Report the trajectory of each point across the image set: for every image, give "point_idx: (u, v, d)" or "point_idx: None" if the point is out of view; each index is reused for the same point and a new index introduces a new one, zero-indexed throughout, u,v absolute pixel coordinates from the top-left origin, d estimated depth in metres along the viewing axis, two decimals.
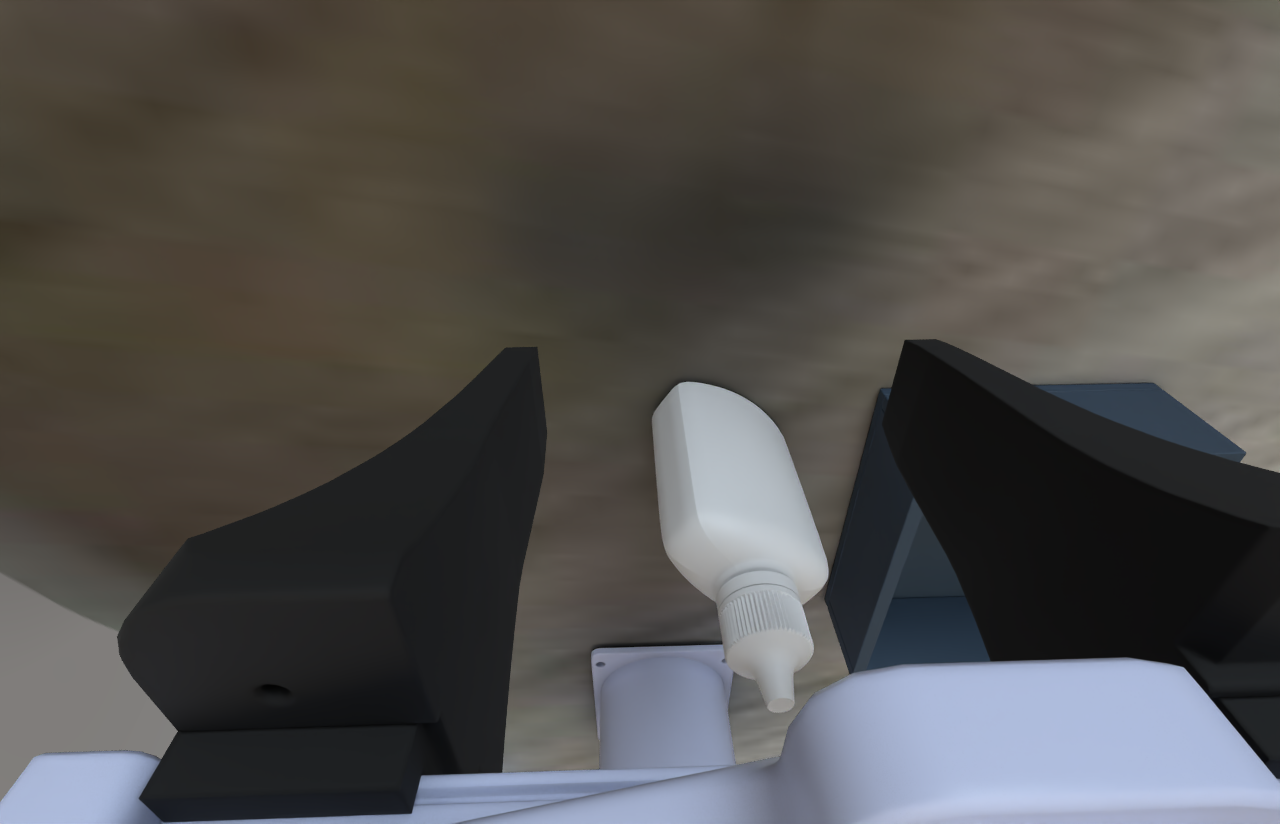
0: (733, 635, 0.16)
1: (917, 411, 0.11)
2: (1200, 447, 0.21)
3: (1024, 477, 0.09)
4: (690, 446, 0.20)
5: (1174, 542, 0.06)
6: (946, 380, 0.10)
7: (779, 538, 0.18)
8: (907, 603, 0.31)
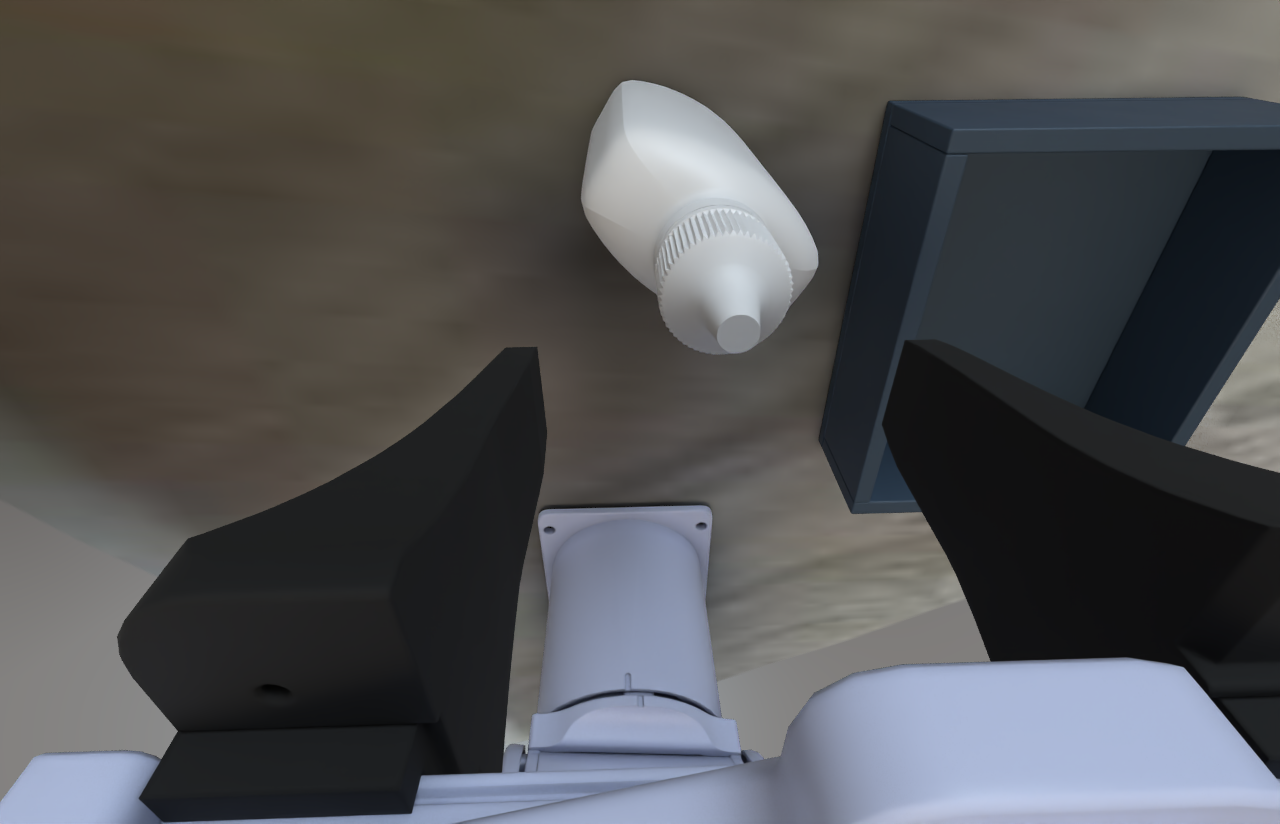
0: None
1: (917, 411, 0.11)
2: None
3: (1024, 477, 0.09)
4: (627, 101, 0.15)
5: (1174, 542, 0.06)
6: (946, 380, 0.10)
7: (745, 171, 0.12)
8: None
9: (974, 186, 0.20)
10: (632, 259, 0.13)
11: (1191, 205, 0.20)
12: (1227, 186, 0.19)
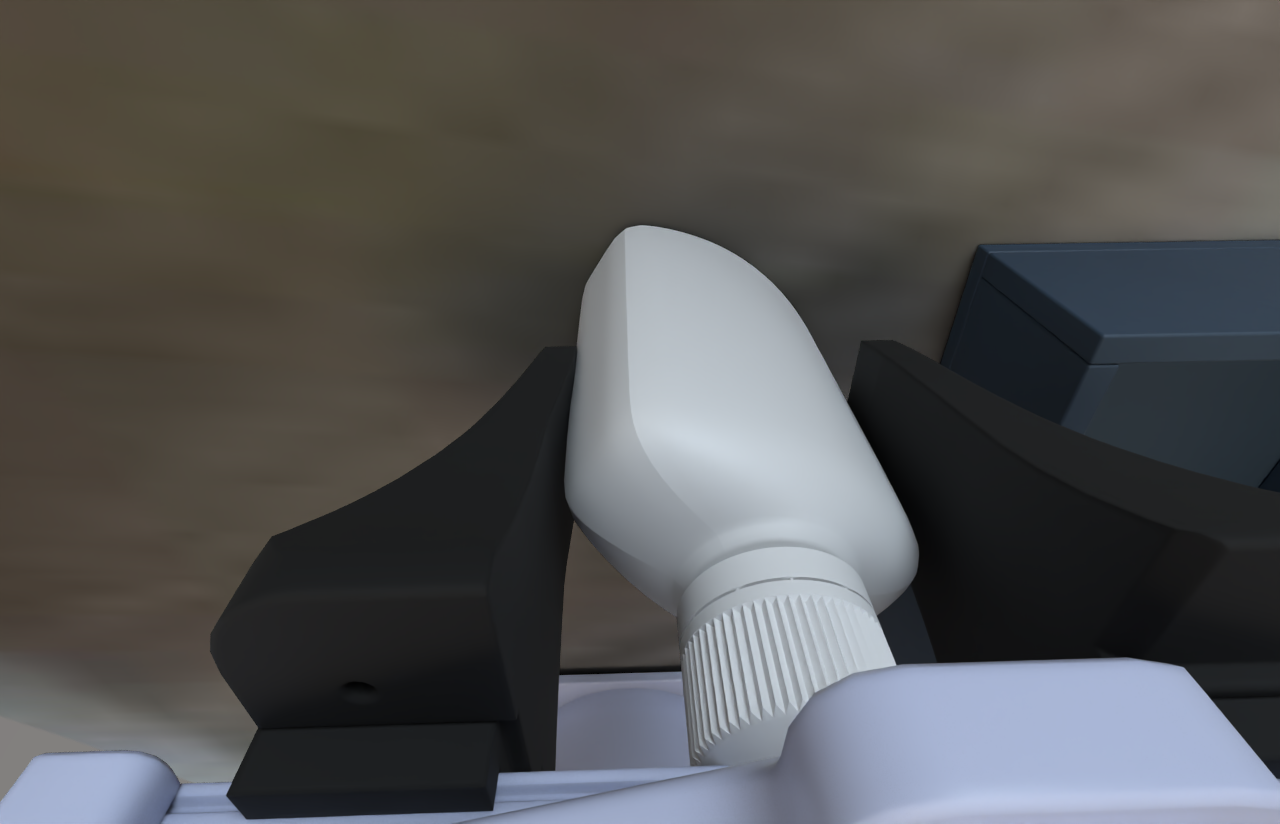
0: (712, 715, 0.06)
1: (872, 412, 0.11)
2: None
3: (965, 478, 0.09)
4: (633, 303, 0.10)
5: (1093, 544, 0.06)
6: (897, 381, 0.10)
7: (823, 474, 0.08)
8: None
9: None
10: (642, 588, 0.08)
11: None
12: None
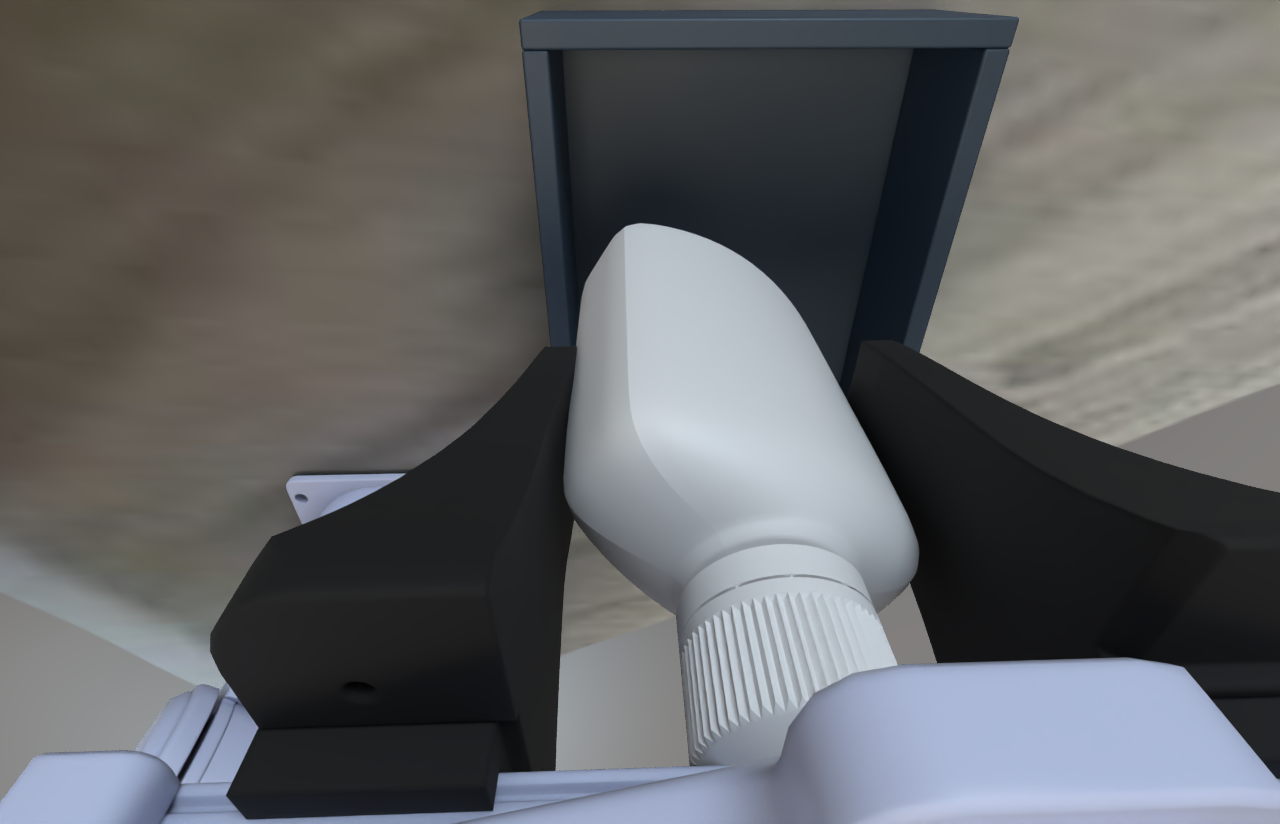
0: (711, 713, 0.06)
1: (871, 412, 0.11)
2: (952, 17, 0.14)
3: (965, 478, 0.09)
4: (632, 301, 0.10)
5: (1093, 544, 0.06)
6: (897, 381, 0.10)
7: (823, 471, 0.08)
8: None
9: (655, 111, 0.18)
10: (642, 586, 0.08)
11: (897, 133, 0.19)
12: (916, 108, 0.17)
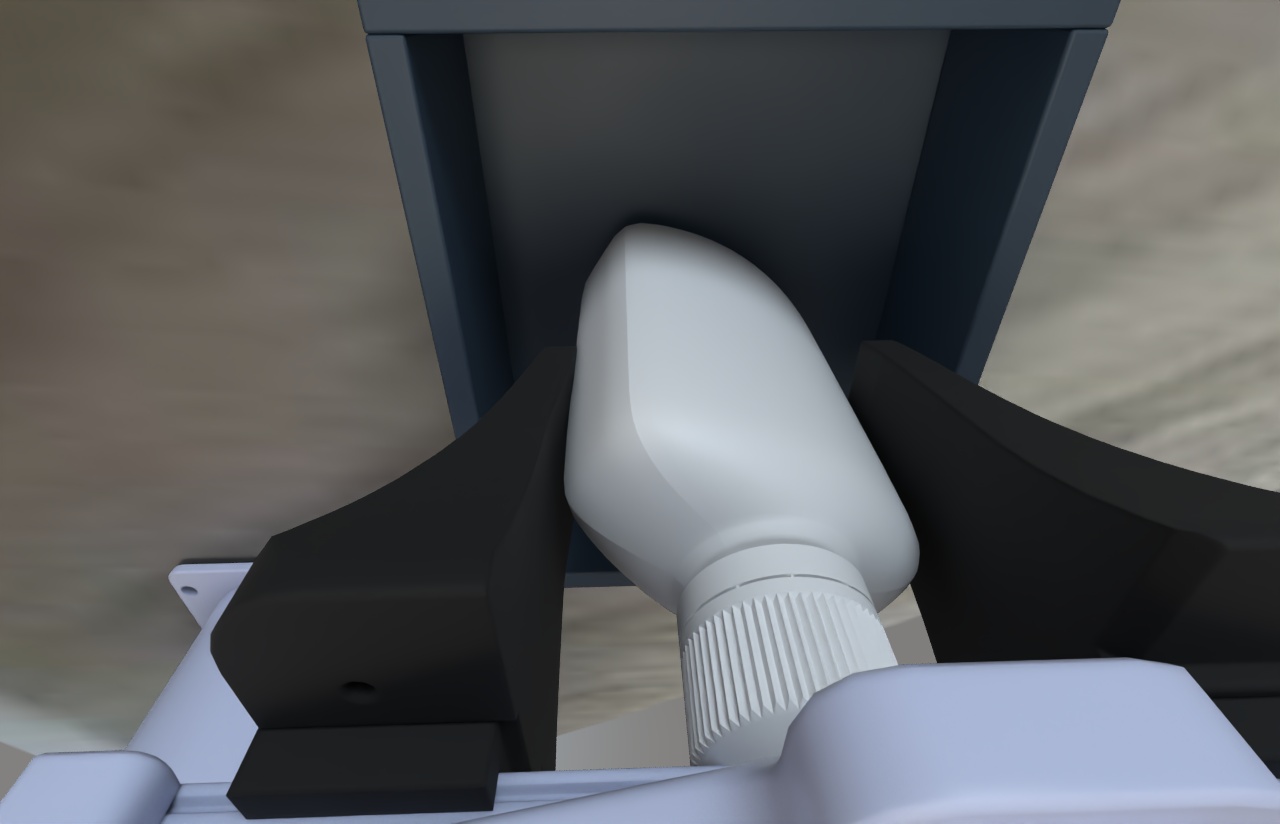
0: (712, 712, 0.06)
1: (871, 412, 0.11)
2: None
3: (965, 479, 0.09)
4: (633, 301, 0.10)
5: (1093, 544, 0.06)
6: (897, 381, 0.10)
7: (824, 470, 0.08)
8: None
9: (597, 120, 0.13)
10: (642, 586, 0.08)
11: (926, 150, 0.14)
12: (954, 116, 0.13)
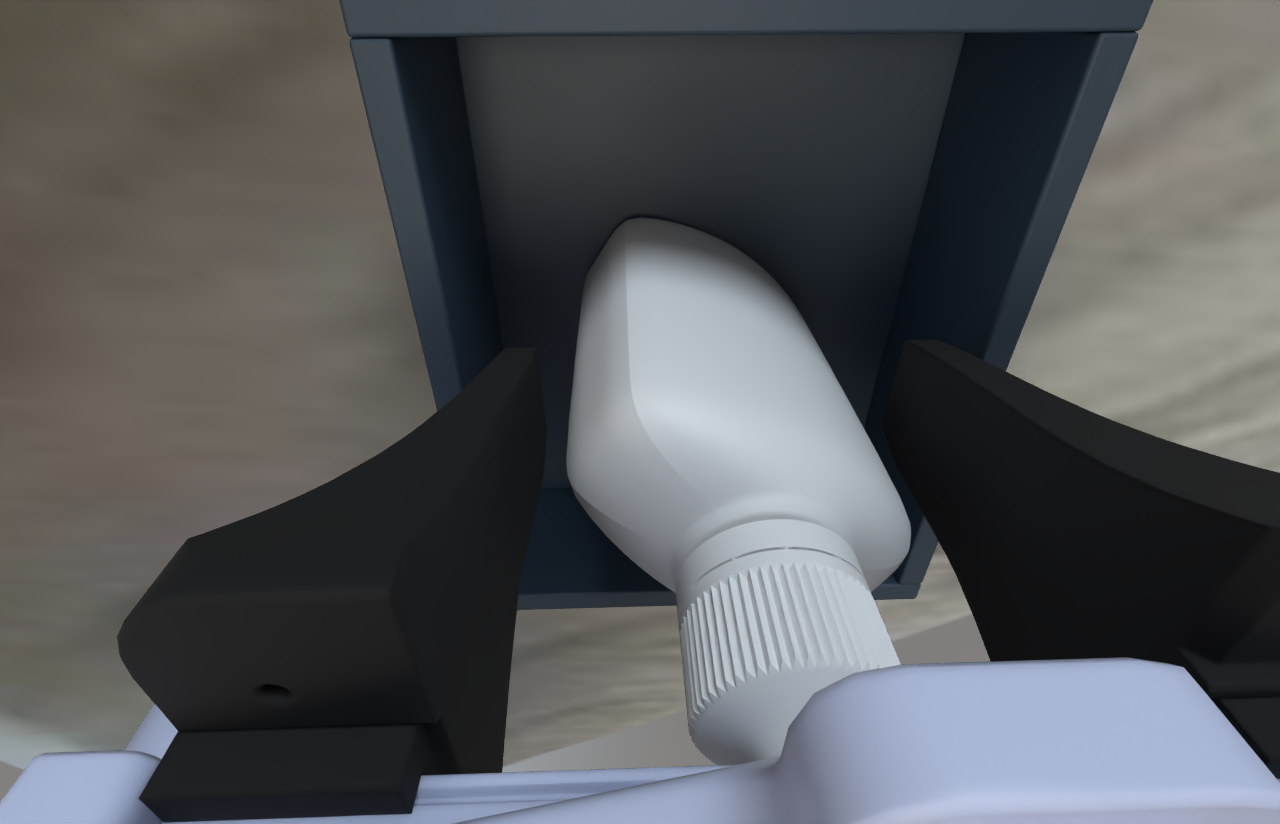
0: (709, 676, 0.06)
1: (916, 411, 0.11)
2: None
3: (1024, 477, 0.09)
4: (633, 291, 0.10)
5: (1174, 542, 0.06)
6: (946, 380, 0.10)
7: (817, 451, 0.08)
8: None
9: (596, 127, 0.13)
10: (642, 564, 0.09)
11: (938, 157, 0.13)
12: (969, 122, 0.12)
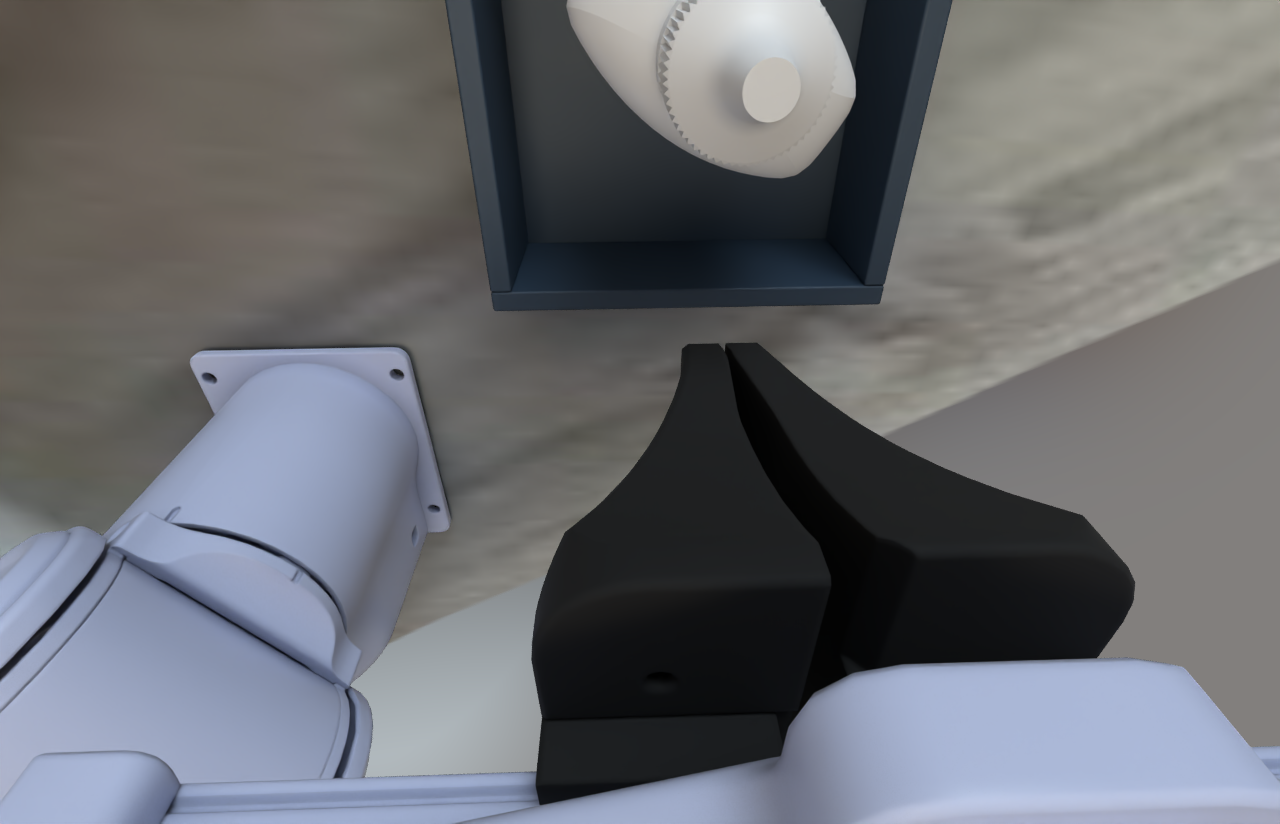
0: (677, 25, 0.08)
1: None
2: None
3: (779, 483, 0.08)
4: None
5: (837, 551, 0.06)
6: (743, 384, 0.10)
7: None
8: (627, 245, 0.20)
9: None
10: (629, 73, 0.11)
11: None
12: None
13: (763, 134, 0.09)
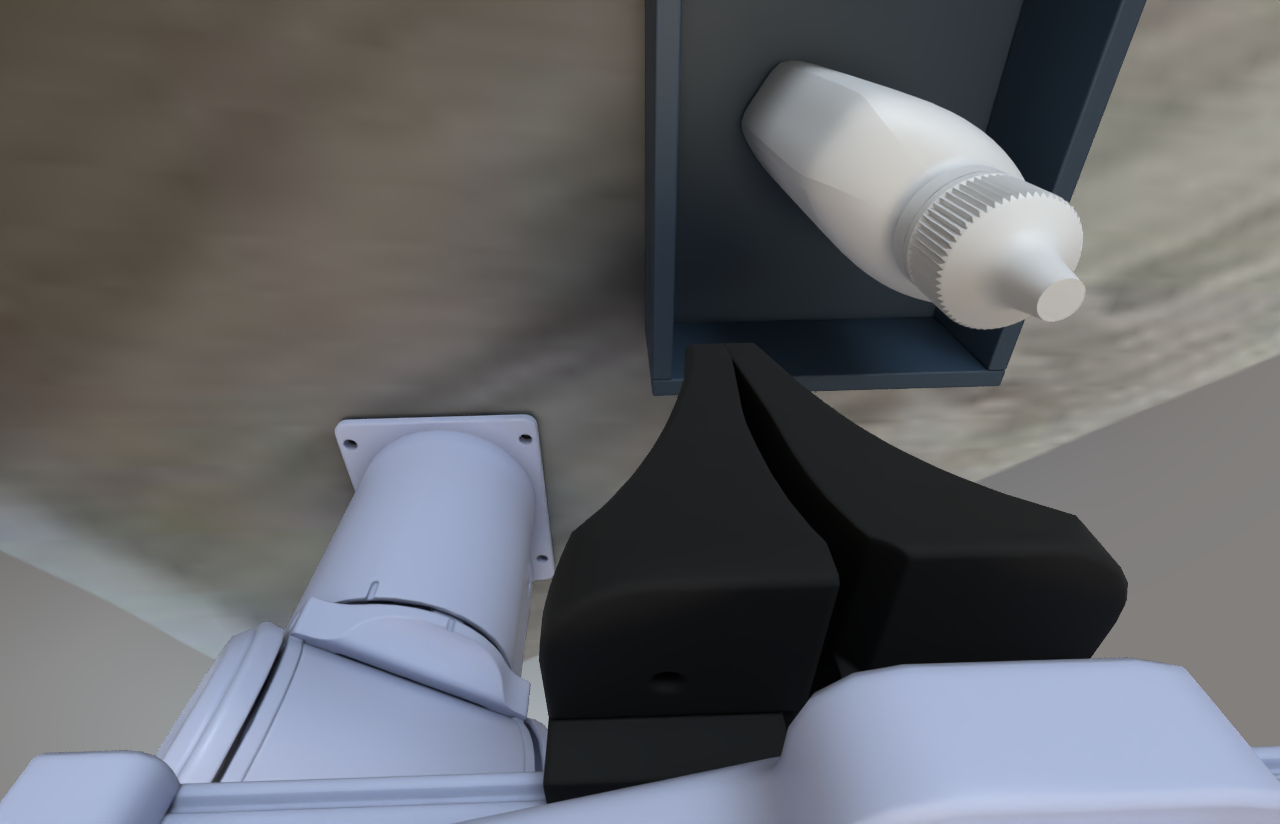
0: (954, 228, 0.10)
1: None
2: None
3: None
4: (824, 74, 0.14)
5: (831, 551, 0.06)
6: (739, 384, 0.10)
7: (989, 139, 0.12)
8: (754, 325, 0.22)
9: None
10: (860, 234, 0.12)
11: (1025, 9, 0.17)
12: None
13: (1016, 310, 0.10)
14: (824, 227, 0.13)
